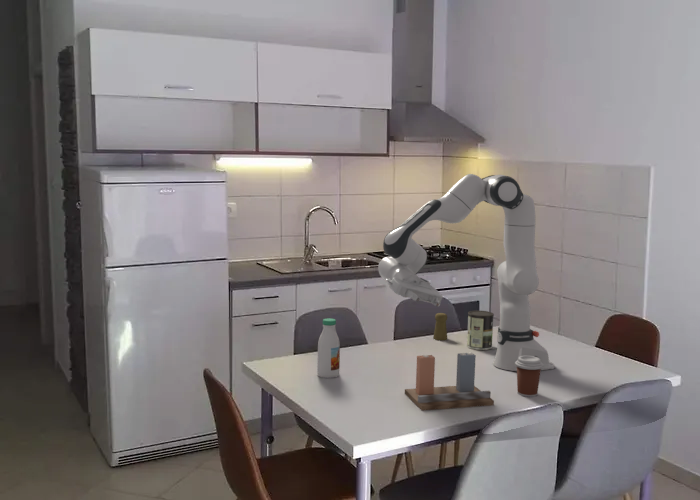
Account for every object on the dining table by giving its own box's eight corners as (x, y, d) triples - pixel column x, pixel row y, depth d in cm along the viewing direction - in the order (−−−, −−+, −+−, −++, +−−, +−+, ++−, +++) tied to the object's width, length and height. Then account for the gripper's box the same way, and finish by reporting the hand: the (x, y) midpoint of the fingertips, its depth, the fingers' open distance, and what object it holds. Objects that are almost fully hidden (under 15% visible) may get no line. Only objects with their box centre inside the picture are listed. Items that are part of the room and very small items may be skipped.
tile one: (430, 390, 238) (431, 354, 236) (433, 393, 235) (435, 356, 233) (415, 391, 237) (416, 355, 235) (418, 394, 234) (420, 357, 232)
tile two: (470, 388, 242) (471, 352, 240) (473, 391, 239) (475, 354, 237) (456, 389, 240) (457, 352, 239) (459, 392, 237) (461, 355, 236)
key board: (472, 388, 246) (473, 378, 245) (493, 405, 230) (494, 394, 230) (404, 393, 240) (405, 383, 239) (421, 410, 224) (422, 399, 224)
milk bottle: (323, 379, 252) (324, 322, 250) (313, 373, 259) (314, 318, 256) (343, 376, 256) (344, 320, 253) (333, 370, 263) (334, 316, 260)
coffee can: (489, 343, 304) (491, 310, 302) (494, 350, 294) (495, 316, 292) (464, 343, 304) (466, 309, 302) (468, 349, 294) (470, 315, 292)
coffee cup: (529, 400, 236) (531, 364, 234) (507, 392, 243) (509, 357, 242) (547, 395, 241) (549, 359, 240) (525, 387, 249) (527, 353, 247)
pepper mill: (446, 341, 307) (448, 315, 306) (432, 340, 308) (433, 314, 307) (448, 337, 313) (449, 312, 311) (433, 336, 314) (434, 311, 313)
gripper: (388, 269, 251) (408, 287, 240) (432, 282, 263) (453, 299, 251) (380, 286, 252) (400, 304, 241) (424, 297, 264) (445, 315, 253)
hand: (428, 301), depth 246 cm, fingers open, 8 cm apart
